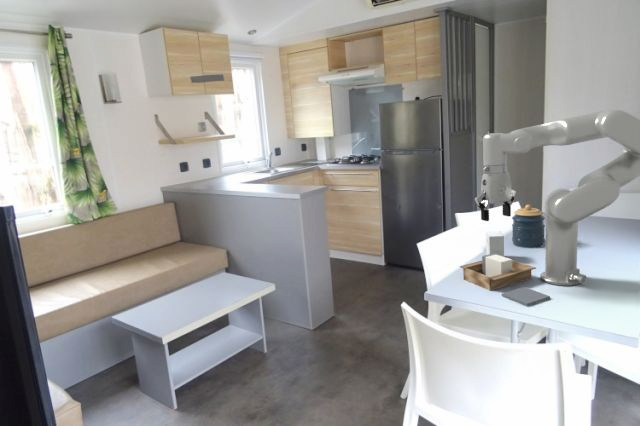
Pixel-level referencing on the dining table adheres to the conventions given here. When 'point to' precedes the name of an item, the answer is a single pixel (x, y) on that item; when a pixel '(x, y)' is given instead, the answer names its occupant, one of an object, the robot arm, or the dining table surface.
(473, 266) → the wooden tray
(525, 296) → the pad
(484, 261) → the box
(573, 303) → the dining table surface
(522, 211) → the canister
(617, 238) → the dining table surface
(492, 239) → the small box
